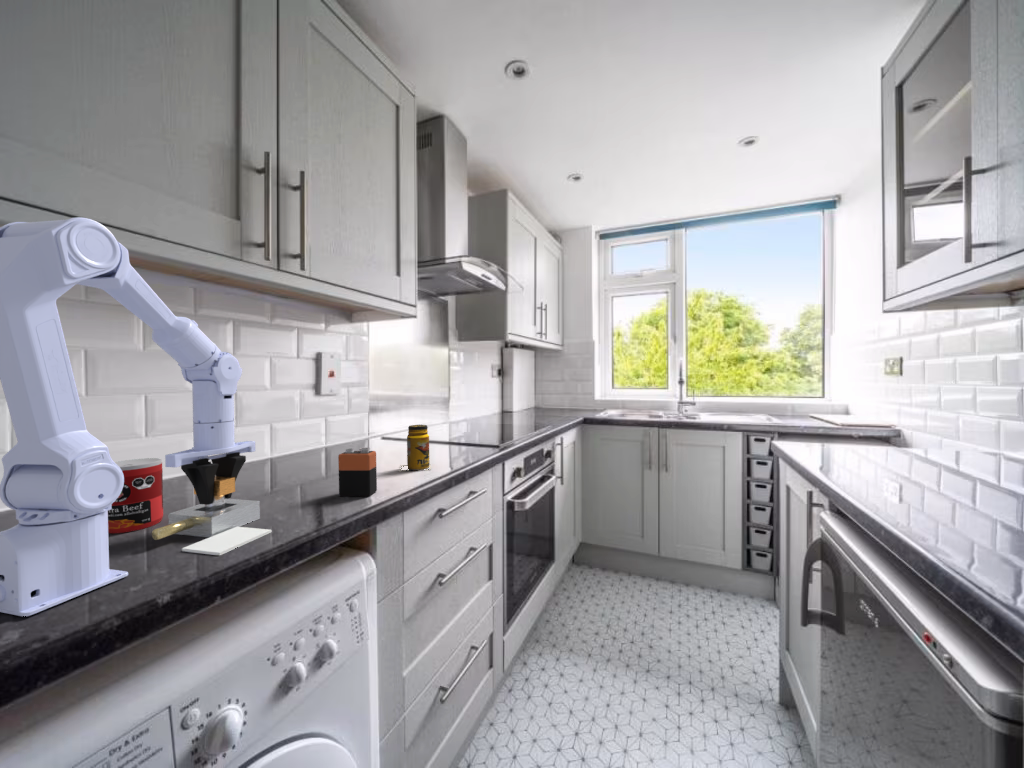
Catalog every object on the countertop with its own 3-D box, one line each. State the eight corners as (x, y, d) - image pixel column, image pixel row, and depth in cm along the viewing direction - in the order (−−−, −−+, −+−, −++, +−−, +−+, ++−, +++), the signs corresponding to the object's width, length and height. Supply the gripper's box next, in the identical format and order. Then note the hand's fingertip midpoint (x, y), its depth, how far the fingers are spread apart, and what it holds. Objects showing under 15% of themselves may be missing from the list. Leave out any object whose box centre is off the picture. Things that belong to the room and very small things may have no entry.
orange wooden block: (235, 511, 71) (234, 477, 71) (220, 517, 68) (219, 481, 68) (210, 509, 72) (209, 475, 72) (194, 514, 69) (193, 479, 69)
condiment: (431, 470, 111) (430, 426, 111) (398, 472, 109) (398, 427, 109) (430, 464, 118) (430, 423, 118) (400, 466, 116) (399, 424, 116)
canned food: (89, 536, 66) (88, 468, 66) (122, 520, 74) (120, 459, 73) (146, 531, 68) (145, 465, 68) (172, 515, 76) (171, 456, 75)
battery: (369, 497, 86) (368, 450, 86) (338, 497, 86) (337, 450, 86) (377, 491, 90) (376, 446, 90) (347, 491, 91) (346, 446, 91)
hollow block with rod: (179, 550, 60) (178, 529, 60) (133, 545, 62) (133, 524, 62) (259, 518, 73) (259, 500, 73) (220, 515, 76) (220, 498, 75)
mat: (219, 555, 58) (219, 552, 58) (181, 551, 60) (181, 548, 60) (271, 532, 67) (271, 529, 67) (237, 528, 68) (237, 526, 68)
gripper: (233, 417, 78) (235, 488, 78) (149, 426, 64) (151, 512, 64) (264, 417, 76) (265, 490, 76) (184, 426, 62) (186, 515, 62)
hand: (215, 500), depth 70 cm, fingers closed on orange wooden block, 3 cm apart
